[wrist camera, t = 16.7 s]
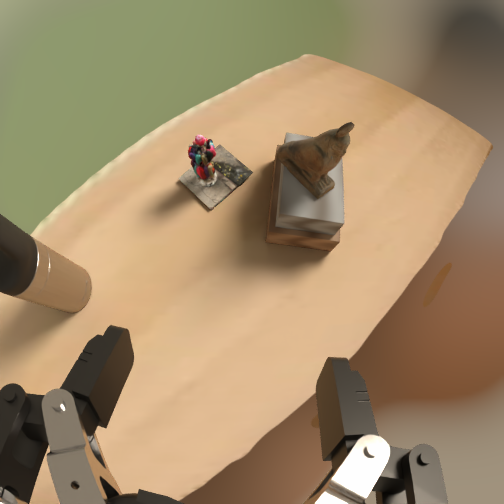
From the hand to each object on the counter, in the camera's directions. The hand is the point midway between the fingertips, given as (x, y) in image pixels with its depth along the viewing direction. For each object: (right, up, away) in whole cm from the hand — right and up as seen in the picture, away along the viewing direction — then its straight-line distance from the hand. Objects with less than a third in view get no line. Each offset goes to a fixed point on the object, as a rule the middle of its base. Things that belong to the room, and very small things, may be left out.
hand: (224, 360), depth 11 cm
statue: (-6, +19, +45) cm, 49 cm away
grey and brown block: (+11, +14, +44) cm, 47 cm away
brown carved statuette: (+10, +17, +34) cm, 40 cm away
